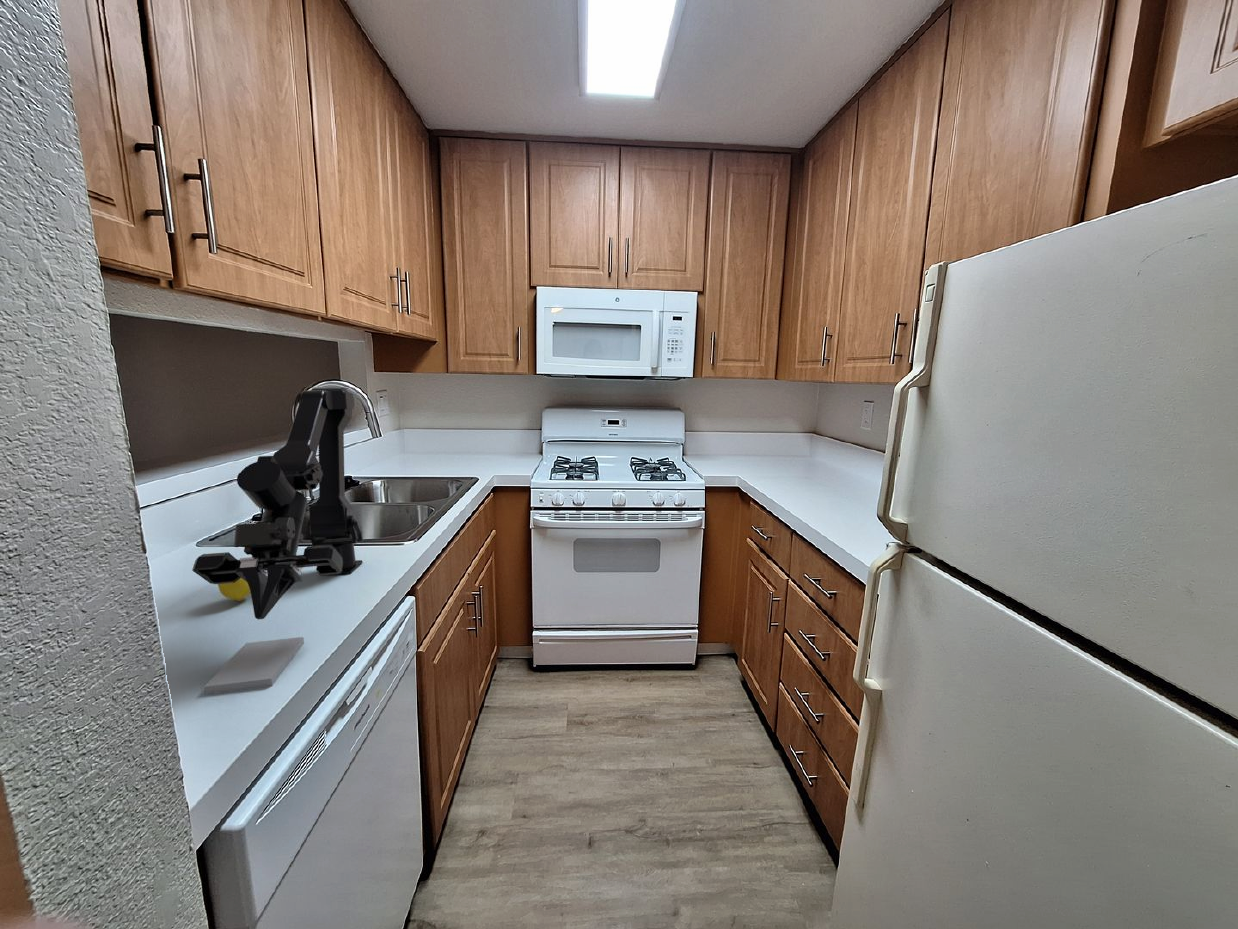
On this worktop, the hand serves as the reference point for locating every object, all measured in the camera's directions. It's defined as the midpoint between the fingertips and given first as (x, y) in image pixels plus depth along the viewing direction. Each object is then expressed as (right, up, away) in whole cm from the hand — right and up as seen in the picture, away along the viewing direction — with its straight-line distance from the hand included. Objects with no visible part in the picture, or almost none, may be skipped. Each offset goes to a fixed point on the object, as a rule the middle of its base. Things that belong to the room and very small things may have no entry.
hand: (259, 618), depth 73 cm
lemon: (-18, -3, +20) cm, 28 cm away
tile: (-1, -6, +5) cm, 7 cm away
